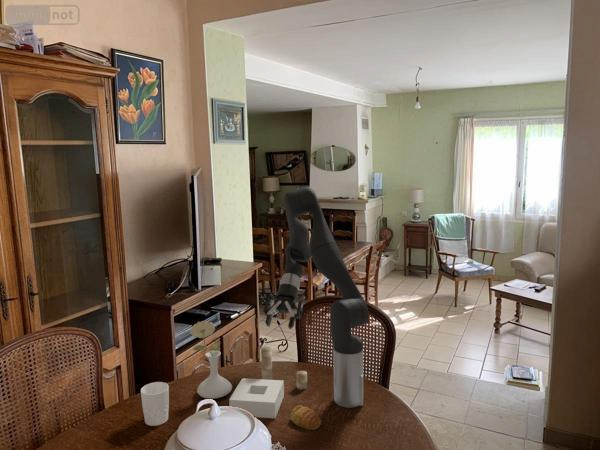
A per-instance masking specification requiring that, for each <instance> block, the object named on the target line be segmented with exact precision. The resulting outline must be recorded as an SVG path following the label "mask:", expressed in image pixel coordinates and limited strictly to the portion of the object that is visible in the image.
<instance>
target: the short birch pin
mask: <svg viewBox="0 0 600 450" xmlns="http://www.w3.org/2000/svg"><path fill="white" fill-rule="evenodd" d="M296 389H297V390H301V391H302V390H306V389H308V372H307V371H306V370H299V371H296Z"/></svg>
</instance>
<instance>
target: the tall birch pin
mask: <svg viewBox="0 0 600 450" xmlns="http://www.w3.org/2000/svg"><path fill="white" fill-rule="evenodd" d="M272 351H273V350H272V347H270V346H263V347H261V348H260V355H261V356H260V361H261V362H260V363H261V379H265V380H273V352H272Z"/></svg>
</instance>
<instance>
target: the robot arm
mask: <svg viewBox="0 0 600 450" xmlns="http://www.w3.org/2000/svg"><path fill="white" fill-rule="evenodd" d="M283 204H284V210H285V215H286V220H287V221H286V222H287V225H288V229H289V231H288V232H289V243H288V244H287V245H286V247H285V266H284V270H283V274H282V277H281V279H280V282H279V286H278V290H277V293H276V298H275V299H274V300H273V299H271V298H267V299H266V303H265V305H264V307H263V311H262V313H264V316H266V318H265V319H266V320H264V321H265V325H266V327H270V326H271V323H272V320H273V316H275V315H277V314H278V313H280V314H281V313H284V314H288V313H289V314H290V317H289V320H288V325H287V326H288V327H287V328H288V329H290V330H292V328H294V326H295V321H296V320H297V319H298V320H301V318H302V314H303V307H304V304H303V301H297V298H298V295H299V290H300V286H301V280H302V275H303V270H304V268H303V265H301V264H300V262H301V263H308V261H310V260H311V258H312V261H313V263H314V265H315V267H316V270H318V271H319V273H320V274H322V276H324V277H325V278H326V279H328V280H329V281H330V282H331V283H332V284H333V285H334V286H335V287H336V288H337V290H338V291H339V293H340V295H341V297H342V299H338V300H334V301H333V302H332V303H331V305H330V309H329V319H330V337H331V341H332V345H333V401H334V403H335V404H336V405H337V406H339V407H343V408H350V409H351V408H356V407H363V405H364V342H363V341H364V340H363V339H362V338H361V337H359V336H357V335H353V334H352V329H353V328H357V327H361V326H363V325H366V324H367V323H368V321H369V318H370V312H369V308H368V306H367V305H368V304H367V303H366V300H365V298H364V296H363V295H362V293H361V292H360V291H361V290H360V289H359V288H358V286H357V285H356V283H355V281H354V279H353V277H352V275H351V273H350V271H349V269H348V267H347V265H346V263H345V261H344V259H343V256H342V253H341V251H340V249H339V246H338V245H337V242H336V241H335V238H334V236H333V234H332V231H331V229H330V227H329V226H328V223H327V221H326V219H325V216H324V212H323V209H322V207H321V205H320V201H319V199H318V196H317V194H316V192H315V190H314V189H313V188H312V186H309V185H308V186H303V187H299V188H295V189H292V190H290V191H287V192H285V194H284V195H283ZM309 213H310V214H311V216H312V220H313V221H312V222H313V223H312V224H313V225H312V231H311V235H310V238H309V229H308V227H307V226H306V224H305V223H304V222H303V221H301V220H300V218H298V217H301V216H303V215H307V214H309ZM308 239H309V240H308ZM296 261H297V262H296ZM296 301H297V302H296ZM295 307H296V313H294V311H293V309H294V308H295Z"/></svg>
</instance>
